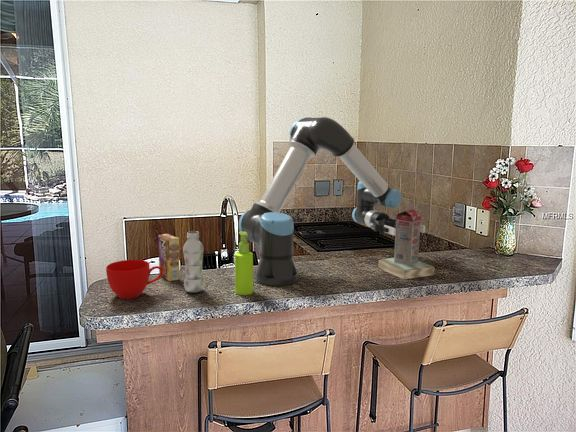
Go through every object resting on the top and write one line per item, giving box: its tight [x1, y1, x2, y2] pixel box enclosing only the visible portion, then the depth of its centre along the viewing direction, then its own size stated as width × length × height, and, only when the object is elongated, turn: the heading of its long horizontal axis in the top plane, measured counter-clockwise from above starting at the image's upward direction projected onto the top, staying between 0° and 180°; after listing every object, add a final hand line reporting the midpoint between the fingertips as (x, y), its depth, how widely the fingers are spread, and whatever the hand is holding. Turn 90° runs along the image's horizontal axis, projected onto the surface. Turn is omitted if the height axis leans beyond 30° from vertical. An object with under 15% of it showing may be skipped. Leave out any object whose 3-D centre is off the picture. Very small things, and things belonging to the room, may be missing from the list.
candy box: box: [157, 233, 181, 282], centre depth 164 cm, size 9×4×15 cm, turn 39°
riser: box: [377, 257, 436, 280], centre depth 176 cm, size 14×16×3 cm
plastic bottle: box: [182, 230, 206, 294], centre depth 149 cm, size 6×7×20 cm
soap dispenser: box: [234, 231, 254, 296], centre depth 150 cm, size 6×7×20 cm
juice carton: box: [393, 204, 422, 266], centre depth 174 cm, size 7×7×22 cm
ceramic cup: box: [105, 259, 162, 300], centre depth 147 cm, size 13×17×10 cm
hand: (409, 230), depth 173 cm, fingers open, 13 cm apart
